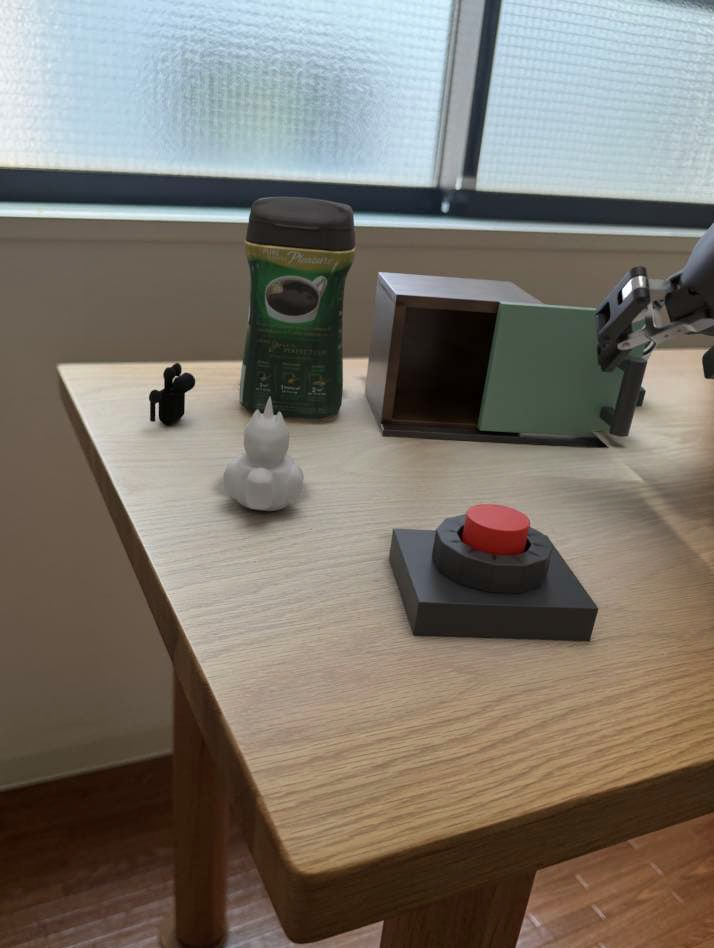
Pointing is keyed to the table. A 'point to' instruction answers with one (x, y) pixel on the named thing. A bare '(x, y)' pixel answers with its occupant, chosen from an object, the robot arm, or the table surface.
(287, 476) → the white toy figurine
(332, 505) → the table surface
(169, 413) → the wireless earbuds
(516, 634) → the button box
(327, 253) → the coffee jar
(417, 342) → the cabinet
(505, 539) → the button
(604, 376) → the sliding door
